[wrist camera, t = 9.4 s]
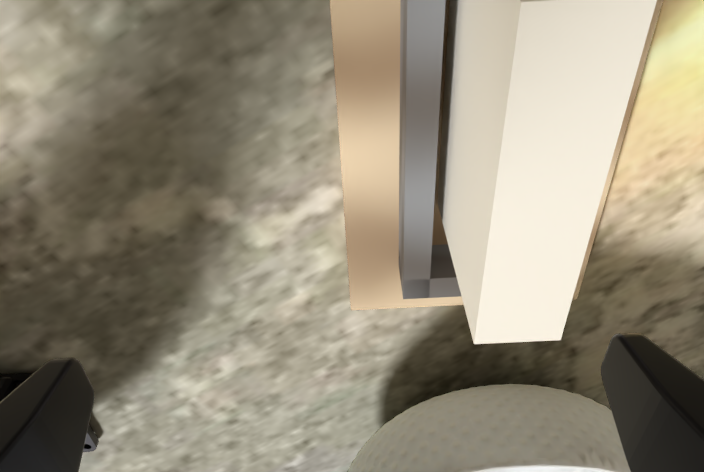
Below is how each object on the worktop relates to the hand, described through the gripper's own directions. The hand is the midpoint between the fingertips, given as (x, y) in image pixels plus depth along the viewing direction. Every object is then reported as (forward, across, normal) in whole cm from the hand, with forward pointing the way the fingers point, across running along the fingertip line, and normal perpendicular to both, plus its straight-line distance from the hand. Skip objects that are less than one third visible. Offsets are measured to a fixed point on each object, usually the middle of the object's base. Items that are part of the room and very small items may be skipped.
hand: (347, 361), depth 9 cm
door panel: (+11, -5, 0) cm, 12 cm away
